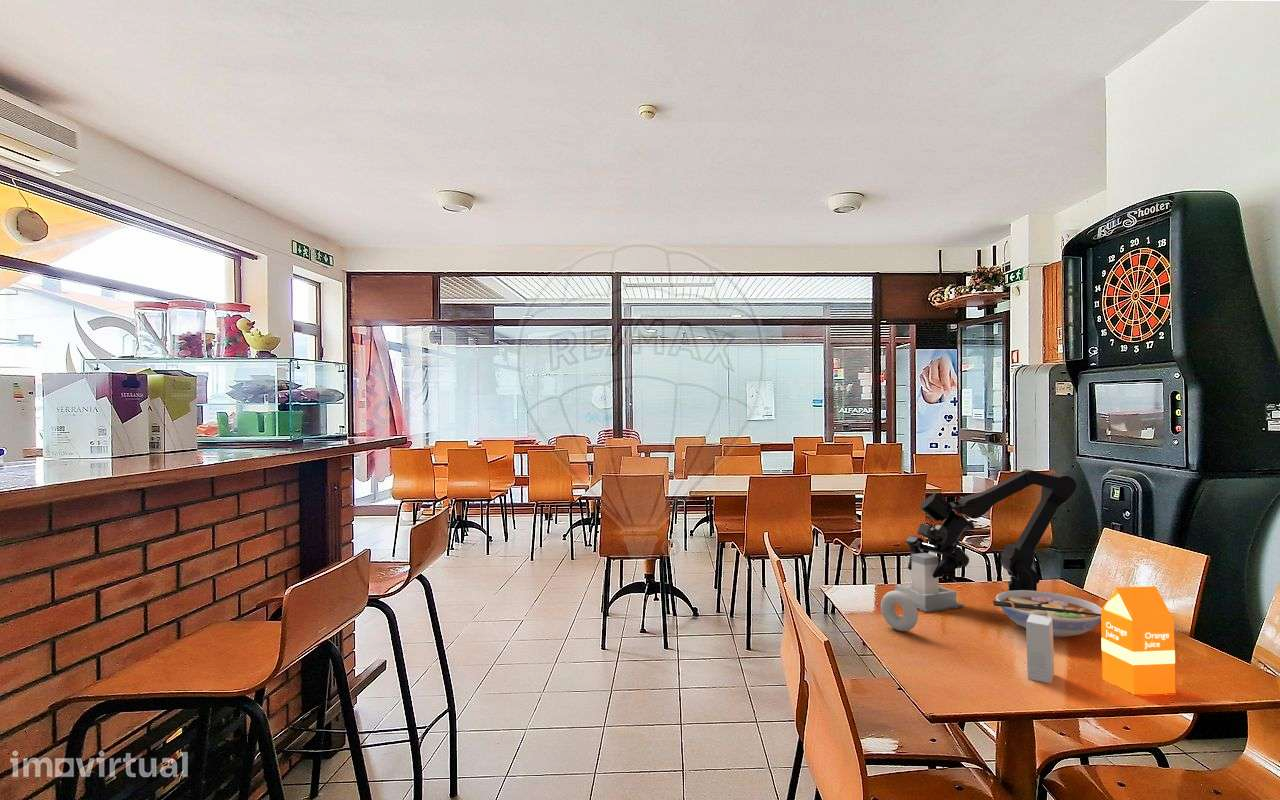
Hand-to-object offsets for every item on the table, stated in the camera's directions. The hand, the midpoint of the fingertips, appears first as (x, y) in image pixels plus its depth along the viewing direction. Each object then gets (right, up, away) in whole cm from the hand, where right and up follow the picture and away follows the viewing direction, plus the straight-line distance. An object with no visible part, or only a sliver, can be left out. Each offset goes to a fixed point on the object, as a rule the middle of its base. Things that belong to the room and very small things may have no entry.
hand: (921, 573), depth 177 cm
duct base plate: (+1, -9, 0) cm, 9 cm away
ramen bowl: (+21, -8, -24) cm, 33 cm away
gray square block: (+1, -8, 0) cm, 8 cm away
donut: (-15, -9, -22) cm, 28 cm away
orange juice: (+19, -8, -54) cm, 58 cm away
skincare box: (+3, -8, -49) cm, 50 cm away
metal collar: (+1, -9, 0) cm, 9 cm away
